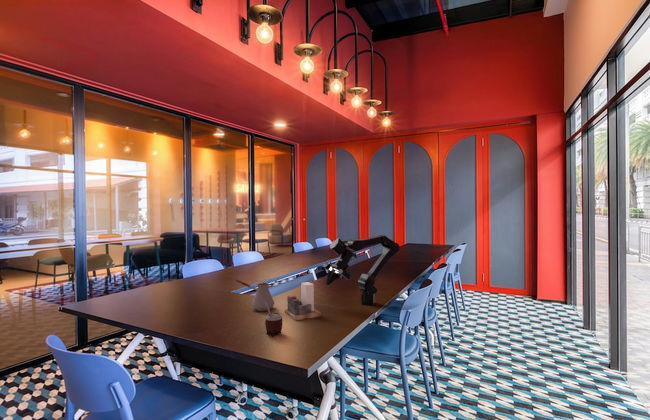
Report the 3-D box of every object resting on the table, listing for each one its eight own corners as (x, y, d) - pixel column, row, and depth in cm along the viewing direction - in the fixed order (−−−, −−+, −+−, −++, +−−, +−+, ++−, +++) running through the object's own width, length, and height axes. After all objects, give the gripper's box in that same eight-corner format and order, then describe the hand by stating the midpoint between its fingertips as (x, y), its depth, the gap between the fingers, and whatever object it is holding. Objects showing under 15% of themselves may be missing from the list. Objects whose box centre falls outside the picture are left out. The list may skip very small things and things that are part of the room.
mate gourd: (283, 330, 146) (282, 295, 146) (281, 337, 138) (280, 300, 138) (265, 331, 145) (265, 295, 145) (262, 338, 138) (262, 300, 137)
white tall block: (308, 307, 173) (308, 282, 173) (313, 310, 167) (313, 284, 167) (301, 308, 171) (301, 282, 171) (306, 312, 166) (306, 285, 166)
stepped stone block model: (309, 308, 177) (309, 290, 177) (321, 316, 165) (320, 296, 165) (284, 312, 171) (284, 293, 171) (295, 320, 159) (294, 300, 159)
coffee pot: (277, 306, 183) (277, 278, 182) (270, 312, 171) (269, 282, 171) (239, 304, 186) (239, 277, 186) (230, 311, 175) (229, 281, 175)
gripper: (364, 272, 174) (347, 298, 170) (343, 264, 190) (327, 288, 186) (351, 260, 169) (333, 286, 165) (330, 253, 185) (313, 277, 181)
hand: (327, 284), depth 174 cm, fingers closed
